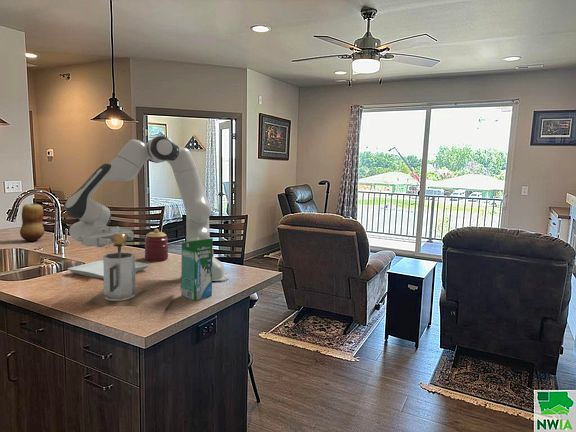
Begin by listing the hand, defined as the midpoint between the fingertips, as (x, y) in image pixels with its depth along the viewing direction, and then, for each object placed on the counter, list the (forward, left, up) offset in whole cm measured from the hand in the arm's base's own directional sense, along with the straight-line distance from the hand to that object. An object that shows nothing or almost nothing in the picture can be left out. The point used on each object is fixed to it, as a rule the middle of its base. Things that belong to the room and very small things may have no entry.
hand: (120, 240), depth 152 cm
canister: (+5, -72, -25) cm, 76 cm away
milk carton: (-28, -8, -25) cm, 38 cm away
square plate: (+20, -42, -25) cm, 52 cm away
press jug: (+1, +1, -23) cm, 23 cm away
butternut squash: (+97, -115, -25) cm, 152 cm away
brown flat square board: (+1, -1, -25) cm, 25 cm away
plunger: (+1, -1, -22) cm, 22 cm away
